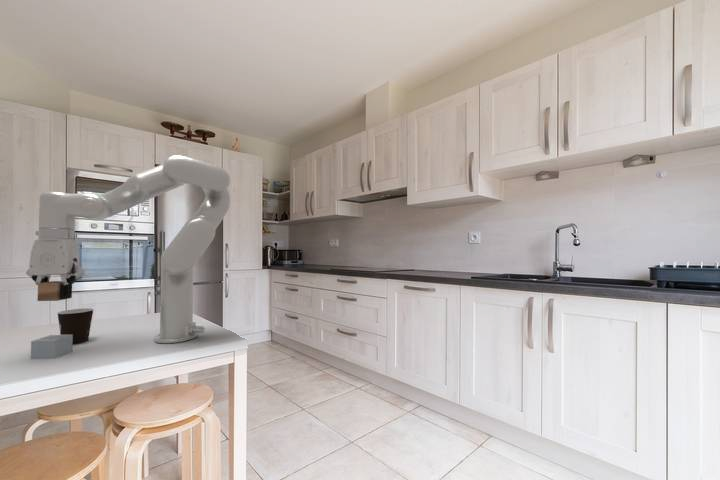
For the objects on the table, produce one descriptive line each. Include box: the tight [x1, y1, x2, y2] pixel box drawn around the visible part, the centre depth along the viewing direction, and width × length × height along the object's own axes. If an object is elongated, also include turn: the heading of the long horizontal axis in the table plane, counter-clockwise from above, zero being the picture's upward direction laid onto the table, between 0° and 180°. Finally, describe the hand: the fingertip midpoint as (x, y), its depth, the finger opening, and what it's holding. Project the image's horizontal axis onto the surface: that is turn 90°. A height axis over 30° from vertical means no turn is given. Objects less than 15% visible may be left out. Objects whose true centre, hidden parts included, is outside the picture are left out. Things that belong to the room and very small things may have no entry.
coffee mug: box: [57, 307, 94, 346], centre depth 102 cm, size 12×9×10 cm
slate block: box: [30, 334, 73, 360], centre depth 89 cm, size 6×6×5 cm
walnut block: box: [36, 280, 73, 302], centre depth 89 cm, size 5×5×5 cm
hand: (54, 297), depth 89 cm, fingers closed on walnut block, 5 cm apart
